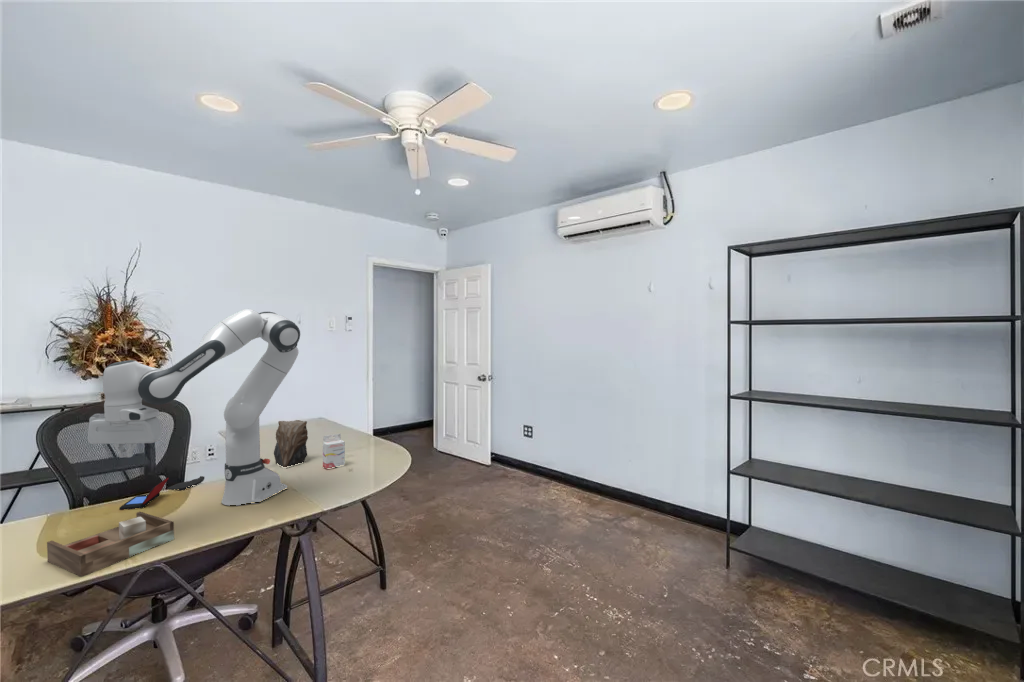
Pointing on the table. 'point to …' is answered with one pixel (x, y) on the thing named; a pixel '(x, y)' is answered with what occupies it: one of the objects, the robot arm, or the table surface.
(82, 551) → the box
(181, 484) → the fan shaped piece
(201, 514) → the table surface
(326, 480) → the table surface
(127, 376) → the robot arm
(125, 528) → the gray block
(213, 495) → the table surface
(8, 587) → the table surface
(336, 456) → the ink cartridge box
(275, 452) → the owl
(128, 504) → the handheld game console
